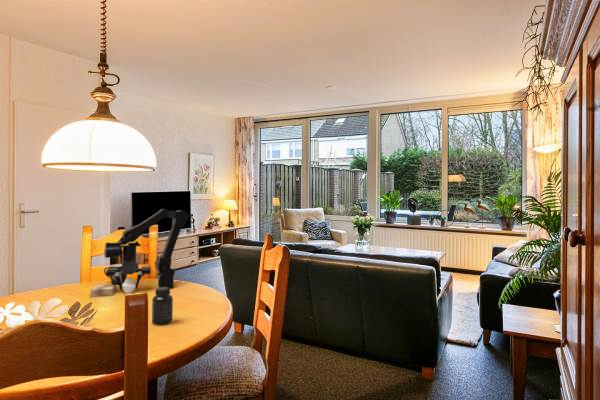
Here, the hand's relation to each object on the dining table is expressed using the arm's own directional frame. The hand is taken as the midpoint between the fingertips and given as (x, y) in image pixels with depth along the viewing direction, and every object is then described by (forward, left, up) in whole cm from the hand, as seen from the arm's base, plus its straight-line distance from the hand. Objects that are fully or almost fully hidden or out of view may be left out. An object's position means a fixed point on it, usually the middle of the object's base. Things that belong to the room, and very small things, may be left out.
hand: (128, 289), depth 169 cm
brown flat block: (+10, 0, -1) cm, 11 cm away
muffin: (0, 0, -2) cm, 2 cm away
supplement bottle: (-16, +50, -2) cm, 53 cm away
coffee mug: (+7, -20, -2) cm, 21 cm away
